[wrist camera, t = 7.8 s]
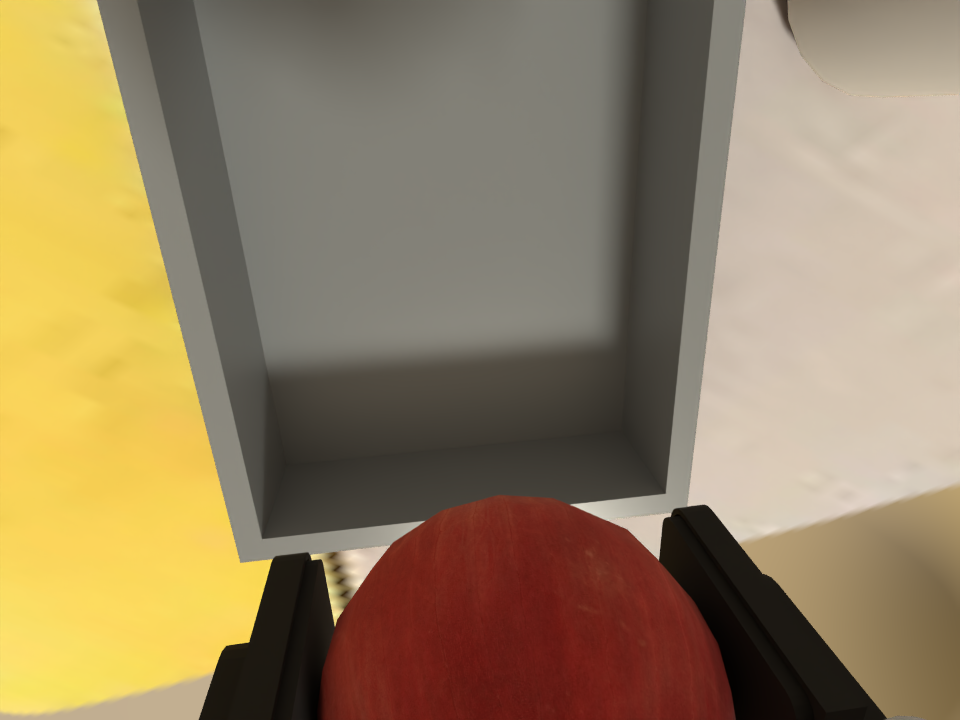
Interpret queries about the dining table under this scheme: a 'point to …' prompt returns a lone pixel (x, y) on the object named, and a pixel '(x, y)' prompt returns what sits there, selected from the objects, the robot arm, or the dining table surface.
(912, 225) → the dining table surface
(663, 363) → the tote
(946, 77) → the can
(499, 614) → the onion
